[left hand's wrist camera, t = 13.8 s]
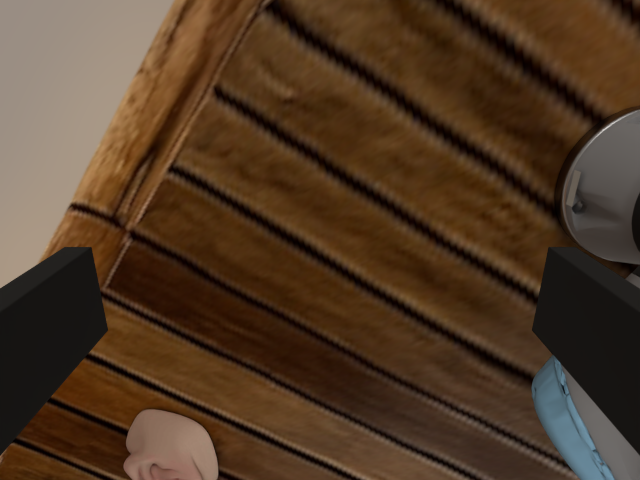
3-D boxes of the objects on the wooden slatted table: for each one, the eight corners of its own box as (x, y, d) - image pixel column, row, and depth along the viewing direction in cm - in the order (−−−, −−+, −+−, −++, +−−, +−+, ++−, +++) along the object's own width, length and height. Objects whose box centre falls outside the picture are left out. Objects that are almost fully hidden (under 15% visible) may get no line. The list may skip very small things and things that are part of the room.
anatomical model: (106, 432, 48) (208, 436, 48) (121, 407, 52) (216, 411, 52) (119, 515, 53) (212, 518, 53) (132, 487, 56) (219, 490, 57)
